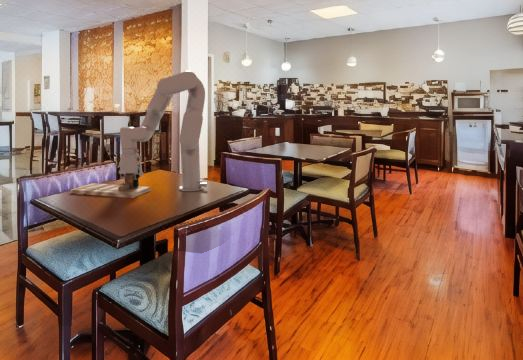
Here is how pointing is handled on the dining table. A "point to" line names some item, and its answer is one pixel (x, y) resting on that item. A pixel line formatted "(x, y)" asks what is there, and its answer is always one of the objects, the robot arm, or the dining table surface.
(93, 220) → the dining table surface
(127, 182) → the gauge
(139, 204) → the dining table surface
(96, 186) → the board
